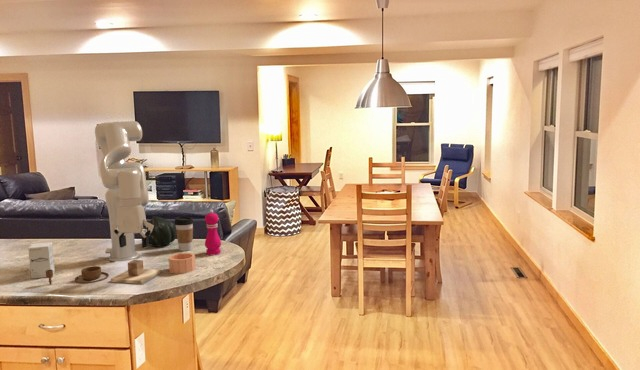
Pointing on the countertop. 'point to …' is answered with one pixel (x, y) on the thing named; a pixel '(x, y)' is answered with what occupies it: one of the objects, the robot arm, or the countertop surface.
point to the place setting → (83, 274)
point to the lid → (135, 273)
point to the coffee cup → (184, 232)
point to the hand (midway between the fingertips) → (134, 246)
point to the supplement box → (41, 259)
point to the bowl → (182, 263)
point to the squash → (161, 232)
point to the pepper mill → (212, 234)
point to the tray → (135, 283)
